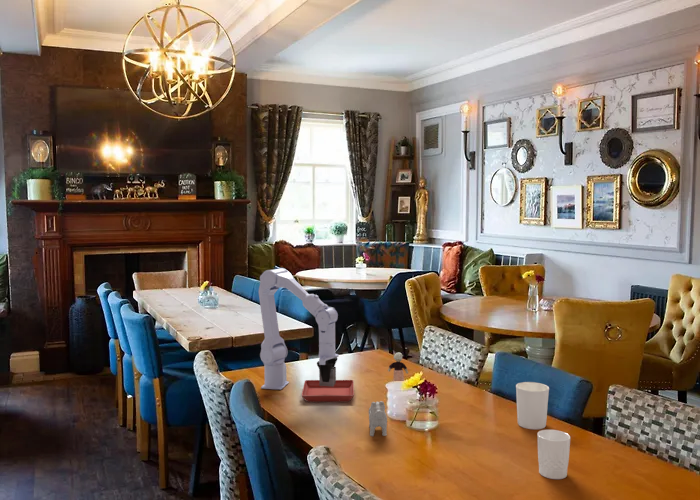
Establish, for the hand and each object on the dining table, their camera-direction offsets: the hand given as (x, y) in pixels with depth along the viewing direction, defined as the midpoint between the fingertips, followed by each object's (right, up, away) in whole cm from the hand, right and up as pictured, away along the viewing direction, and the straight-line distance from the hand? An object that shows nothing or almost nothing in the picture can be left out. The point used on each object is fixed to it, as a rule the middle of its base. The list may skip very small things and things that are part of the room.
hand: (327, 379), depth 223 cm
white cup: (+59, -10, -65) cm, 88 cm away
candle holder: (+64, -8, -30) cm, 71 cm away
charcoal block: (0, -2, 0) cm, 2 cm away
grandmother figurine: (+26, -5, +11) cm, 29 cm away
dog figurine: (+16, -8, -36) cm, 40 cm away
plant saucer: (0, -6, 0) cm, 6 cm away
